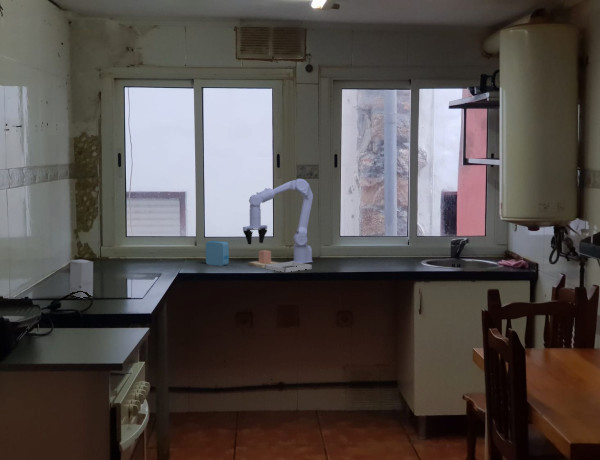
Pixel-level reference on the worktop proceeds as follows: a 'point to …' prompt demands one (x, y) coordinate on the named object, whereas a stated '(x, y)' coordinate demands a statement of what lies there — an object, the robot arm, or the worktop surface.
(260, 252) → the terracotta block
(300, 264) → the tray
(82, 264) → the skincare box
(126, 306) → the worktop surface
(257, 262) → the board
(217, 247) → the data package
